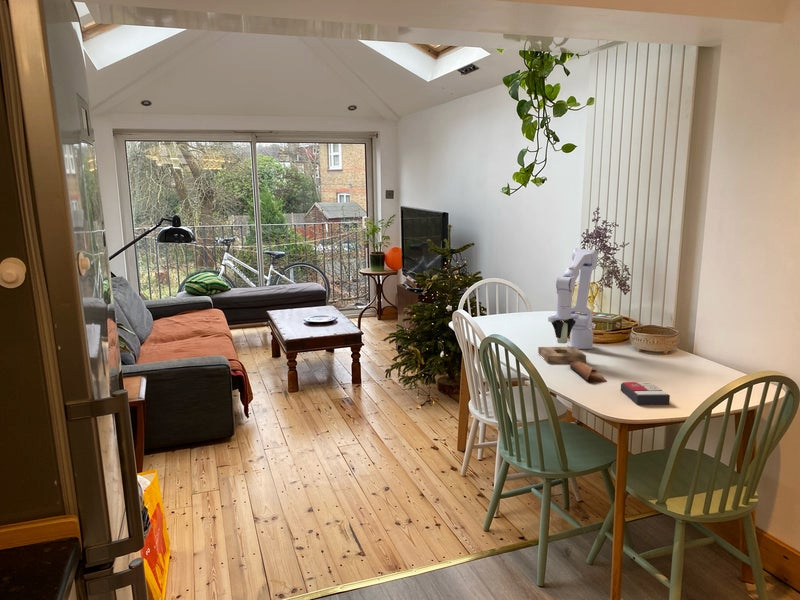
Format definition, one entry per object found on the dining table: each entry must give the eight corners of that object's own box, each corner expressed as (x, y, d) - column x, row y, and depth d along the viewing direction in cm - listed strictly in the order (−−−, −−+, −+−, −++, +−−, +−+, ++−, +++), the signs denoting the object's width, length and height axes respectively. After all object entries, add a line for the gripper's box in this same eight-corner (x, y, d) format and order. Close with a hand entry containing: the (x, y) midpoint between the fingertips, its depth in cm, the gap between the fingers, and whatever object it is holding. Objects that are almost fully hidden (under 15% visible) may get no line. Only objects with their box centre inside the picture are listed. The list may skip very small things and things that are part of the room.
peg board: (574, 353, 263) (574, 346, 262) (585, 362, 249) (586, 355, 249) (538, 353, 262) (538, 347, 262) (547, 363, 248) (547, 356, 248)
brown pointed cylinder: (609, 382, 225) (602, 367, 223) (593, 392, 225) (585, 377, 223) (589, 367, 242) (582, 354, 241) (574, 376, 242) (567, 363, 241)
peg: (562, 340, 257) (563, 322, 256) (569, 342, 253) (569, 324, 252) (555, 341, 255) (555, 323, 254) (561, 343, 252) (562, 325, 250)
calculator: (651, 380, 216) (670, 393, 202) (650, 392, 217) (669, 405, 202) (620, 381, 216) (637, 393, 201) (619, 392, 217) (637, 406, 202)
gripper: (571, 302, 258) (569, 333, 260) (544, 305, 252) (542, 336, 254) (582, 305, 252) (581, 336, 254) (555, 308, 245) (553, 340, 248)
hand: (562, 337), depth 254 cm, fingers closed on peg, 4 cm apart
